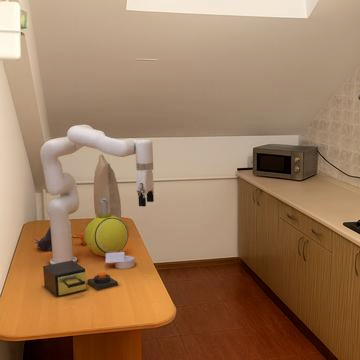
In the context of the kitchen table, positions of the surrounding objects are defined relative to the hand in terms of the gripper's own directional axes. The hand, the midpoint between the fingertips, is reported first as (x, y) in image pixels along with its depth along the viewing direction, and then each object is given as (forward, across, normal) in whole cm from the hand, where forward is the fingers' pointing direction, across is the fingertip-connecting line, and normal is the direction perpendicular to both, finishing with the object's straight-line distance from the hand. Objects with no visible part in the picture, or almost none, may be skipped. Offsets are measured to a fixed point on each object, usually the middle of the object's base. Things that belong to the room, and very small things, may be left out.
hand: (146, 204), depth 251 cm
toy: (+31, -16, -28) cm, 45 cm away
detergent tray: (+30, +33, -22) cm, 50 cm away
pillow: (+31, -57, -47) cm, 80 cm away
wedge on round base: (+31, -1, -15) cm, 34 cm away
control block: (+31, +23, -12) cm, 40 cm away
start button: (+28, +23, -12) cm, 38 cm away
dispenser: (+31, +30, -26) cm, 50 cm away
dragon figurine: (+31, -24, -58) cm, 70 cm away
